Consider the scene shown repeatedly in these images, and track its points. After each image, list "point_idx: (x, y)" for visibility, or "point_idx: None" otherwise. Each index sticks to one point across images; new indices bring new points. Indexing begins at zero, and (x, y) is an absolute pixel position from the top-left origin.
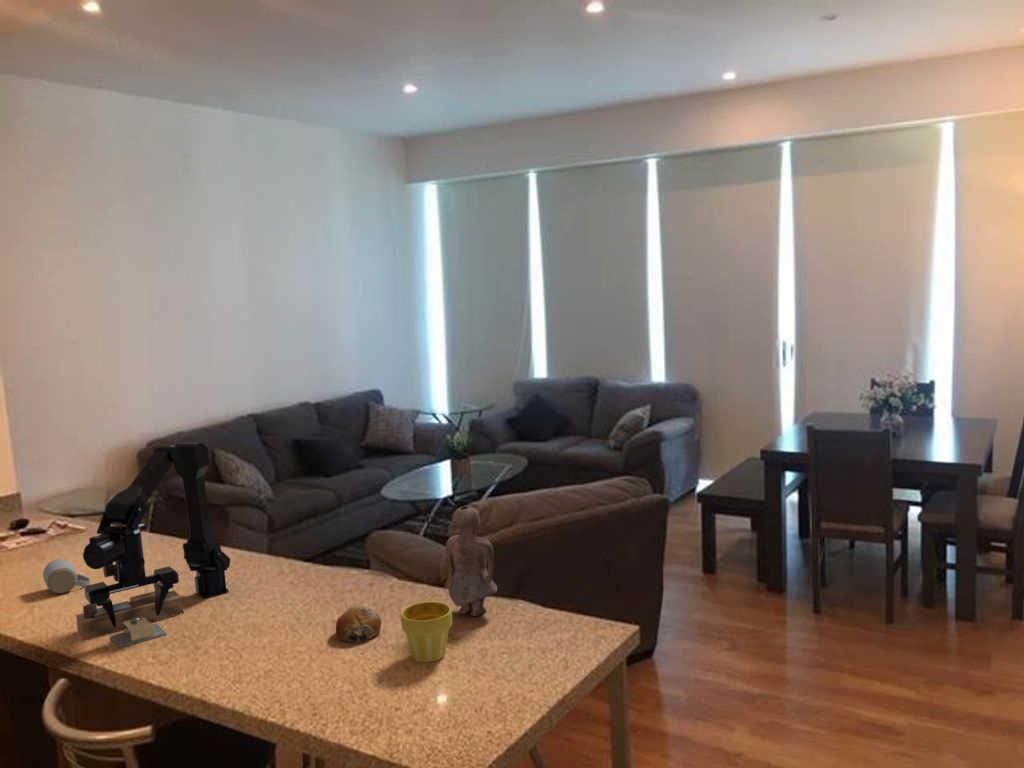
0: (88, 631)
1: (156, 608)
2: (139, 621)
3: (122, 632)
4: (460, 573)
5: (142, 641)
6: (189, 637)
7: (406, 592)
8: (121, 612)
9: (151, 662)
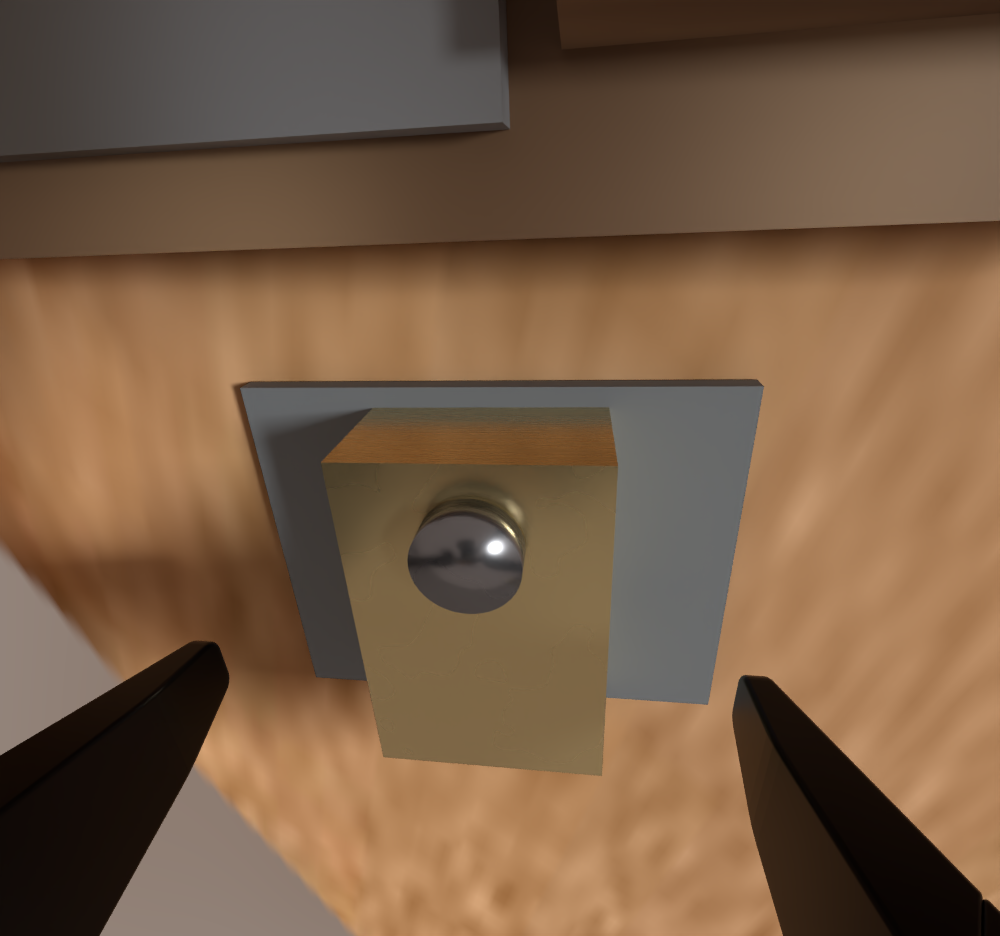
0: None
1: (767, 820)
2: (516, 599)
3: (361, 394)
4: None
5: None
6: None
7: None
8: (279, 236)
9: (475, 926)
